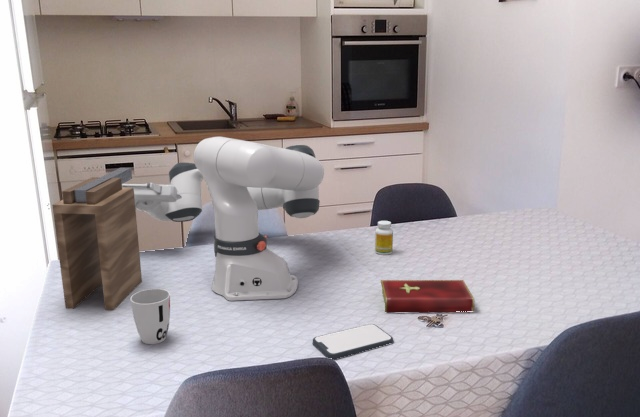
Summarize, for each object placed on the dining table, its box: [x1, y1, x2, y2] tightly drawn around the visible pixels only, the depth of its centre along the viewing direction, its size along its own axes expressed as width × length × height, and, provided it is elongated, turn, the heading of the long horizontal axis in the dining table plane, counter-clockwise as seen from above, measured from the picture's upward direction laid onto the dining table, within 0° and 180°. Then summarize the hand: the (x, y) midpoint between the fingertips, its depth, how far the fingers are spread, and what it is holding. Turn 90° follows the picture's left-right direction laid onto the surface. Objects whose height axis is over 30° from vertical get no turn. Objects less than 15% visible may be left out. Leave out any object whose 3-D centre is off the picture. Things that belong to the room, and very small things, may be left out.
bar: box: [74, 167, 133, 203], centre depth 150 cm, size 3×26×3 cm, turn 174°
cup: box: [130, 288, 171, 345], centre depth 128 cm, size 8×8×10 cm
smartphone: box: [312, 323, 394, 360], centre depth 127 cm, size 9×2×16 cm
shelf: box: [52, 176, 143, 311], centre depth 148 cm, size 12×18×29 cm, turn 174°
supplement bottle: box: [374, 220, 394, 256], centre depth 181 cm, size 5×5×10 cm
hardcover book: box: [380, 279, 475, 313], centre depth 146 cm, size 12×21×4 cm, turn 90°
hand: (133, 184), depth 169 cm, fingers open, 8 cm apart
